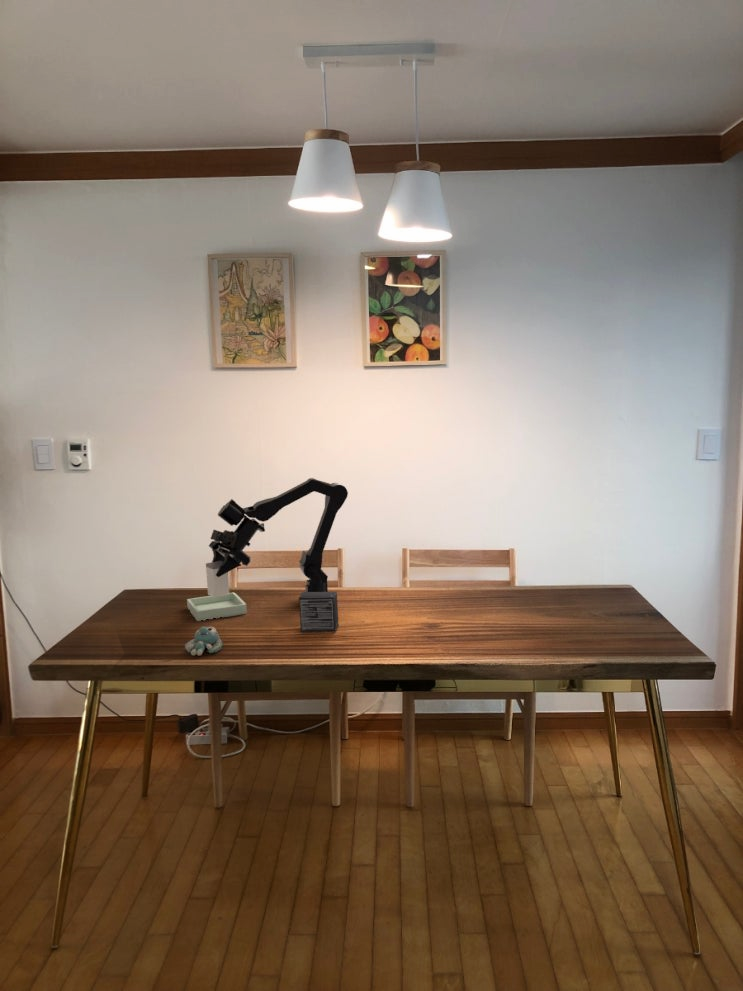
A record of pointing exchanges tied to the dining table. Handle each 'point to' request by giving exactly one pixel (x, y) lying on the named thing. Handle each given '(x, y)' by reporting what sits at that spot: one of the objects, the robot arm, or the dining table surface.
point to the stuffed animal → (204, 641)
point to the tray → (216, 606)
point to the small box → (318, 611)
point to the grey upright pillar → (216, 580)
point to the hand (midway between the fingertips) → (213, 574)
